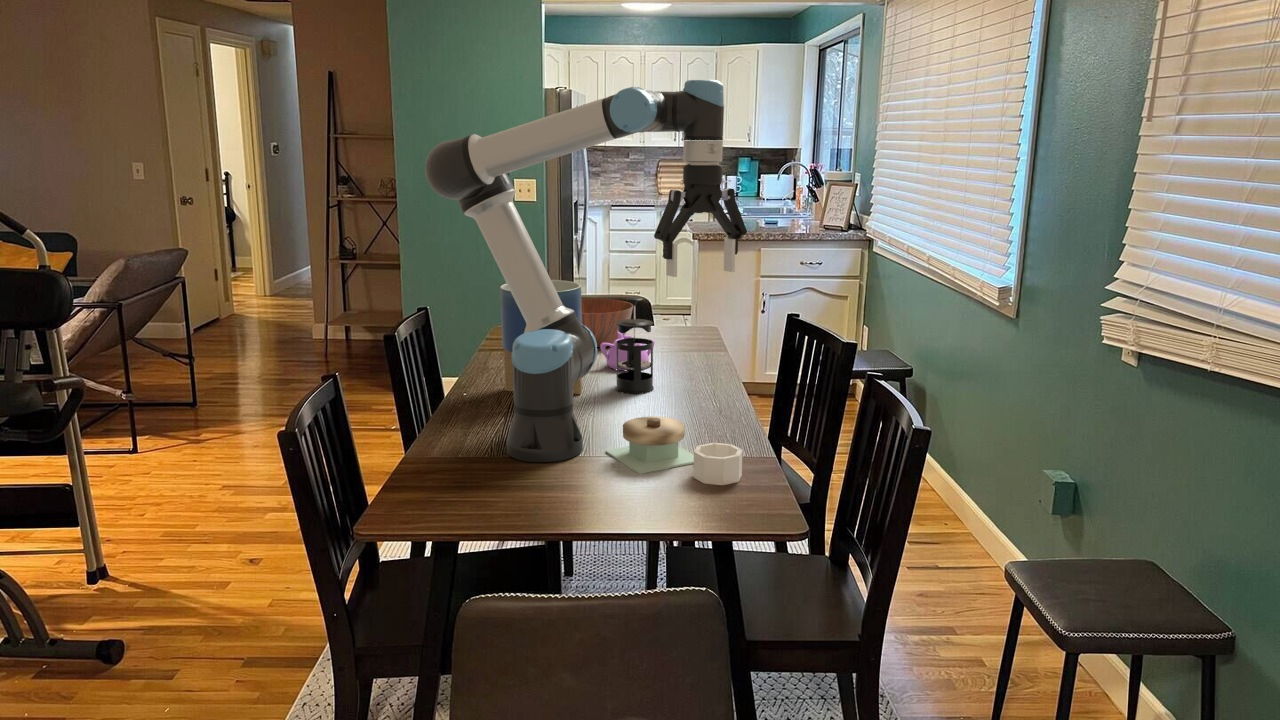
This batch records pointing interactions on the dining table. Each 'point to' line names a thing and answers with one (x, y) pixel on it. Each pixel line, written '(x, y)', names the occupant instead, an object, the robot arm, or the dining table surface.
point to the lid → (653, 431)
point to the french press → (634, 356)
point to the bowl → (604, 317)
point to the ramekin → (717, 463)
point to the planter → (516, 323)
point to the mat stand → (652, 457)
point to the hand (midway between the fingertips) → (700, 273)
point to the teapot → (621, 352)
